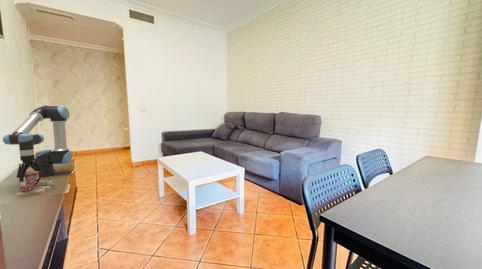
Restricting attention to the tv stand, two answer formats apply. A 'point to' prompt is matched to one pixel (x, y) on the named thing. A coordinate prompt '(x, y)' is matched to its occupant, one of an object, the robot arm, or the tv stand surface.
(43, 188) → the board
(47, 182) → the leg
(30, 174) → the mug
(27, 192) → the seat pad
